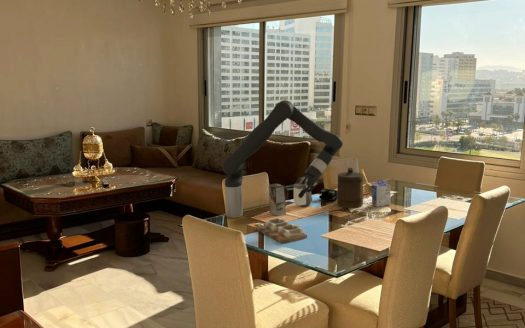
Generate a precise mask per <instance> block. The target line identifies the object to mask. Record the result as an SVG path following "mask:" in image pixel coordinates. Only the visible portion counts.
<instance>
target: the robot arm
mask: <svg viewBox="0 0 525 328" xmlns="http://www.w3.org/2000/svg"><path fill="white" fill-rule="evenodd" d="M286 120H290V121H291V122H293V123H294V124H296V125H297V126H299V128H301V129H302V131H304V132H305V133H306V134H307V135H308V136H309V137H311V138H313V140H315V141H317V142H319V143H324V144H325V145H324V146H323V148H322V150H321V151H320V152H319V153H318V155H316V158H315V159H314V160H313V161H312V162H311V163H310V164H309V166H308V167H307V169H306V170H305V175H304V176H302V177H301V176H298V177H297V180H296V182H295V184H299V183H300V184H301V183H302V184H304V188H303V190H302V191H301V192H300V193H299V195H298V197H300V198H302V197H303V196H304V194H305V193H307V192H310V191H311V192H312V191H313V189H315V188H316V187H317V186H318V182H317V181H318V180H319V179H320V177H321V176H322V175H323V173H324V172H325V171H326V169H327V167H328V166H329V165H330V164H331V162H332V160H333V158H334V156H335V155H336V154H337V152H338V151H339V150H341V148H342V147H343V139H342V138H341V137H340V136H339V135H336V134H335V133H333V132H331V131H328V130H326V129H325V128H324V127H322V126H320V125H319V124H318V123H316V122H315V121H314V120H312V119H310V118H309V117H308V116H307V115H305V114H304V113H303V112H301V110H299V109H298V108H297V107H296V106H295V105H294V104H293V103H292V102H291V101H289V100H286V99H284V100H281V101H278V102H277V103H276V104H275V106H274V107H273V108H272V110H271V112H269V114H268V115H267V117H266V118H265V119H264V120H263V121H261V122H260V123H259V124H258V125H257V126H256V127H254V128H253V130H251V131H250V133H249V134H248V135H247V136H246V137H245V138H244V140H243V141H242V142H241V143H240V144H239V146H238V147H237V148H236V150H234V152H232V153H231V154H230V155H229V156H228V157H227V158H225V159H224V160H223V162H222V164H221V169H222V171H223V173H224V174H225V175H226V177H225V180H224V195H225V196H224V197H225V199H224V200H225V202H224V203H225V216H226V217H227V218H230V219H237V218H241V217H243V216H244V215H243V214H244V213H243V212H244V211H243V209H244V208H243V190H242V189H243V185H242V181H243V174H244V173H243V167H244V166H243V164H244V162H245V161H246V160H247V159H248V158H250V157H251V156H252V155H254V154H255V153H256V152H257V151H258V150H259V149H260V148H261V147H263V145H264V144H265V143H266V142H267V141H268V140H269V139H270V137H271V136H272V134H273V133H274V132H275V130H276V129H277V128H279V126H280V125H281V124H282V123H284V122H285V121H286ZM292 195H293V196H294V191H293V192H292Z"/></svg>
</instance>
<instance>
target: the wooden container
mask: <svg viewBox="0 0 525 328" xmlns="http://www.w3.org/2000/svg"><path fill="white" fill-rule="evenodd" d="M336 190H337V200H336V203H337V206H338V207H341V208H345V209H354V208H355V209H356V208H360V207H363V206H364V205H363V204H364V173H361V172H357V171H354V168H353V167H349V168H348V167H347V171H343V172H340V173H337V189H336Z"/></svg>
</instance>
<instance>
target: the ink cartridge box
mask: <svg viewBox="0 0 525 328" xmlns="http://www.w3.org/2000/svg"><path fill="white" fill-rule="evenodd" d="M391 188H392V187H391V184H390V183H387V182H384V180H383V179H379V180H377V183H376V184H371V205H372V206H374V207H376V208H378V207H383V206H391V193H392V192H391Z"/></svg>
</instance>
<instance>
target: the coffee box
mask: <svg viewBox="0 0 525 328" xmlns="http://www.w3.org/2000/svg"><path fill="white" fill-rule="evenodd" d="M286 196H287V195H286V186H285V185H282V184H280V183H272V184H268V207H269V209H268V210H269V212H268V213H269V214H270V213H271V214H272V215H274V216H277V217H278V216H279V217H280V216H284V215H286V214H287V204H286V203H287V200H286Z"/></svg>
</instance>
